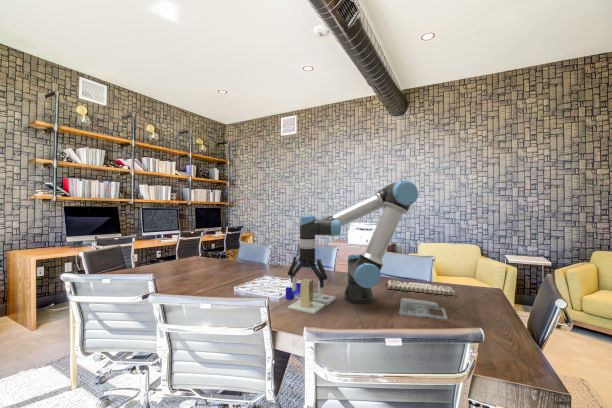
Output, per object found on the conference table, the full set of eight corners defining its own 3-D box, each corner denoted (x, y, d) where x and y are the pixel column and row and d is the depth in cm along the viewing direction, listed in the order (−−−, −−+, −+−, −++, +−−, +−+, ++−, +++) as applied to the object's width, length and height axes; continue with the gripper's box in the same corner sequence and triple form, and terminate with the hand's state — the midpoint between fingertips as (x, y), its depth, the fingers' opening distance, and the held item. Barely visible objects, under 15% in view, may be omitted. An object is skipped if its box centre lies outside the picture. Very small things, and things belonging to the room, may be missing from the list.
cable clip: (294, 292, 158) (294, 282, 158) (301, 294, 156) (301, 283, 156) (283, 298, 148) (283, 287, 148) (290, 300, 145) (290, 288, 146)
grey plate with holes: (335, 299, 147) (335, 296, 147) (328, 305, 138) (328, 301, 138) (301, 293, 156) (301, 290, 156) (292, 298, 148) (292, 295, 148)
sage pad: (324, 305, 137) (324, 304, 137) (314, 314, 126) (314, 312, 126) (299, 301, 144) (299, 299, 144) (287, 308, 133) (287, 306, 133)
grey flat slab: (400, 295, 149) (442, 300, 142) (400, 300, 149) (442, 305, 142) (398, 309, 128) (448, 316, 121) (398, 315, 127) (448, 322, 120)
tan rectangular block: (312, 304, 136) (313, 279, 136) (308, 307, 132) (309, 281, 132) (304, 303, 138) (305, 278, 138) (300, 306, 134) (300, 280, 134)
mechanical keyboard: (450, 289, 171) (450, 284, 171) (458, 299, 153) (458, 293, 153) (386, 284, 182) (386, 278, 182) (385, 292, 164) (385, 286, 164)
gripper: (334, 248, 133) (334, 294, 133) (288, 244, 144) (288, 286, 144) (328, 250, 126) (327, 298, 126) (281, 246, 138) (280, 290, 137)
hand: (306, 292), depth 135 cm, fingers open, 13 cm apart
